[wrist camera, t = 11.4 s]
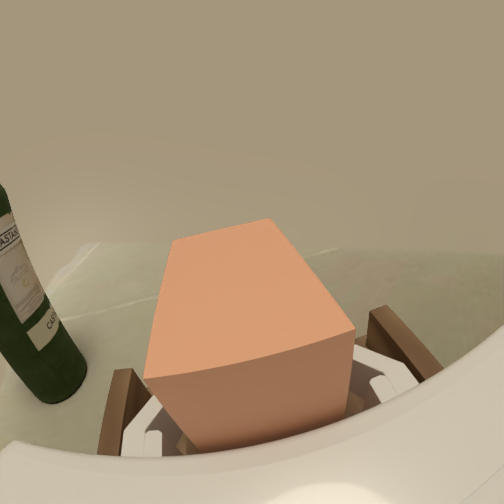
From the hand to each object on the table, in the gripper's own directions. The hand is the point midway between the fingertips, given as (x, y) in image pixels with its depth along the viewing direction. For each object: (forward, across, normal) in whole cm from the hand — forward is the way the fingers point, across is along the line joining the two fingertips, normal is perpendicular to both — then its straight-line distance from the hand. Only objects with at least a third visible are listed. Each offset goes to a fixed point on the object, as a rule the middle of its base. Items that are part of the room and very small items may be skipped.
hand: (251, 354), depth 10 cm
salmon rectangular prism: (-1, 0, +7) cm, 7 cm away
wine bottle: (+9, +21, +9) cm, 25 cm away
